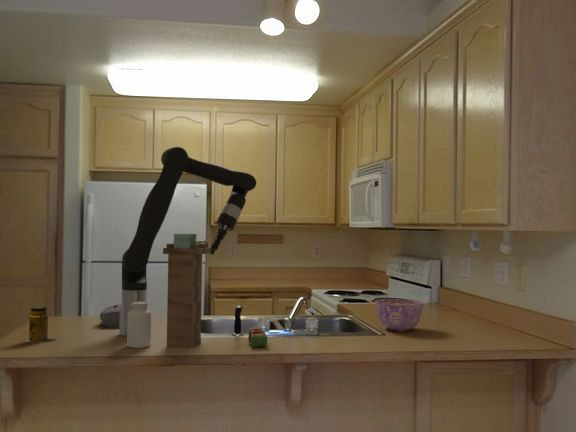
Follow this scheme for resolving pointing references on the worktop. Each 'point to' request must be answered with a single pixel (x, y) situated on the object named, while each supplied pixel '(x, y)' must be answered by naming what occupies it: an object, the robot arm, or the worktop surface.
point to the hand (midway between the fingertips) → (212, 251)
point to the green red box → (257, 337)
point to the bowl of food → (399, 313)
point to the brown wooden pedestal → (184, 295)
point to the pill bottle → (139, 326)
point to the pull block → (186, 240)
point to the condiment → (38, 325)
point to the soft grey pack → (111, 316)
